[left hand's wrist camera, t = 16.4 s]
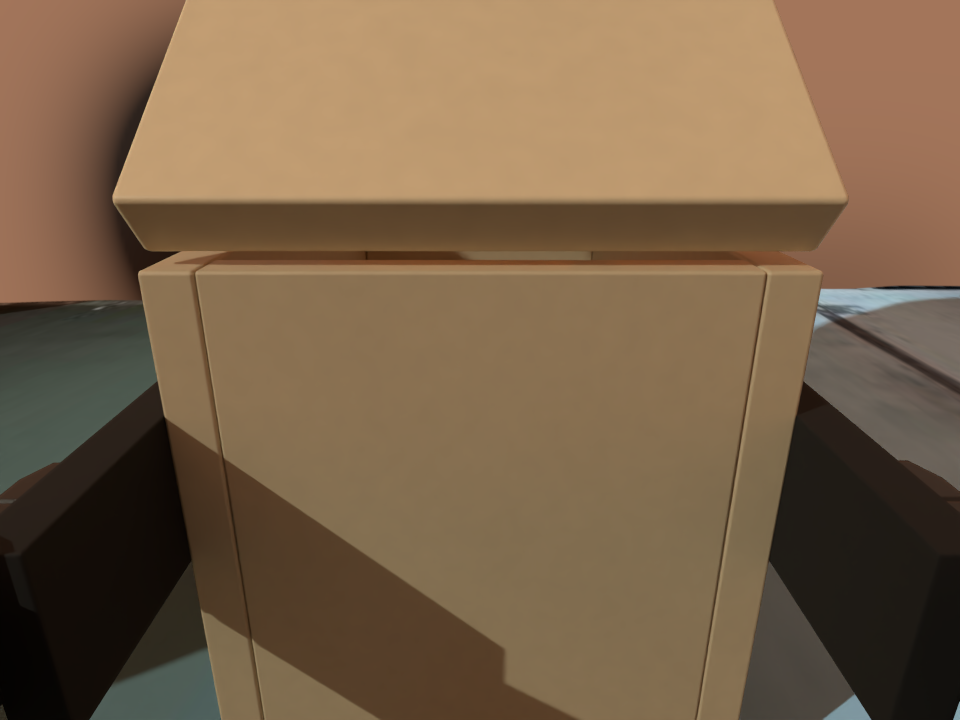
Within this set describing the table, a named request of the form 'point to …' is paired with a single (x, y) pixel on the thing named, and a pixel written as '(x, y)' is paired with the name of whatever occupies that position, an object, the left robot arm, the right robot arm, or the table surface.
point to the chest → (480, 474)
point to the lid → (480, 129)
